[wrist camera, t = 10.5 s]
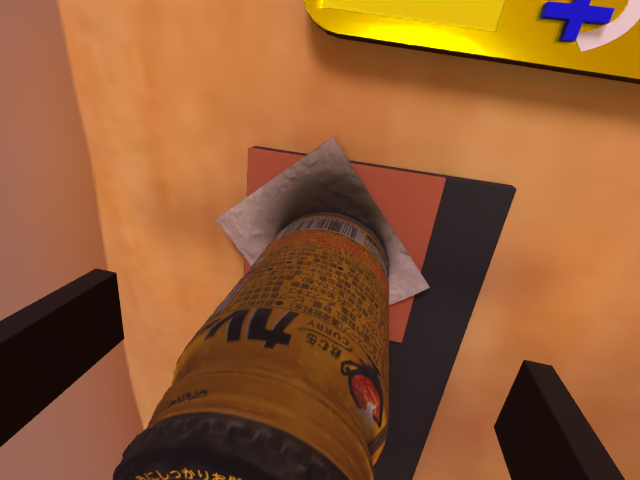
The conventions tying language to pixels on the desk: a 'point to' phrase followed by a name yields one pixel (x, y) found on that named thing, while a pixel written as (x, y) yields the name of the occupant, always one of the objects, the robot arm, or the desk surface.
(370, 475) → the condiment
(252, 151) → the desk mat
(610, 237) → the desk surface
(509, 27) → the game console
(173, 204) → the desk surface
